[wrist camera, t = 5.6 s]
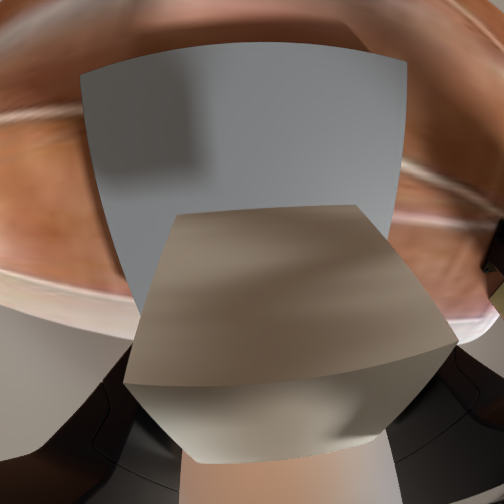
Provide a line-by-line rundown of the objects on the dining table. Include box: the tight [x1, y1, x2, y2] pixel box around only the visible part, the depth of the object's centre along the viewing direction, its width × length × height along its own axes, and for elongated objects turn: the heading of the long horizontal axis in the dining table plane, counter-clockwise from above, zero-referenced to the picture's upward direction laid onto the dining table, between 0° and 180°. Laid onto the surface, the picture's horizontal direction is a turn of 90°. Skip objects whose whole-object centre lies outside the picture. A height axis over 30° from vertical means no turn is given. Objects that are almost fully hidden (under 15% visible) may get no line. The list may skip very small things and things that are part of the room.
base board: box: [80, 42, 407, 315], centre depth 15 cm, size 16×16×3 cm
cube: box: [123, 205, 459, 464], centre depth 7 cm, size 5×5×5 cm
